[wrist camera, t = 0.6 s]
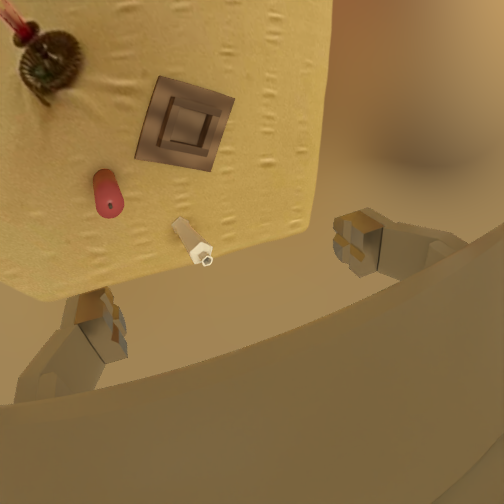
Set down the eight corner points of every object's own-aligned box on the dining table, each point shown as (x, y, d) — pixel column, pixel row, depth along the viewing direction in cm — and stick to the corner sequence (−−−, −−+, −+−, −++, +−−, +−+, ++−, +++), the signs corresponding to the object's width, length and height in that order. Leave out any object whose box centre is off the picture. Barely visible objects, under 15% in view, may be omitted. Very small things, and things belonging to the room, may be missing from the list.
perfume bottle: (166, 230, 61) (190, 268, 50) (176, 213, 60) (203, 247, 50) (182, 238, 64) (209, 275, 54) (193, 221, 64) (222, 255, 53)
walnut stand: (158, 76, 44) (164, 75, 41) (232, 98, 53) (242, 99, 51) (134, 157, 50) (138, 162, 47) (208, 170, 59) (216, 176, 56)
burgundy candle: (95, 167, 46) (98, 191, 37) (117, 170, 49) (127, 194, 39) (91, 190, 48) (94, 220, 38) (112, 192, 51) (122, 222, 41)
